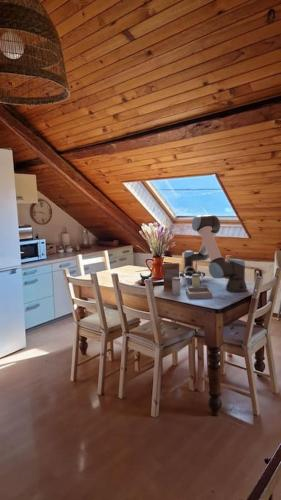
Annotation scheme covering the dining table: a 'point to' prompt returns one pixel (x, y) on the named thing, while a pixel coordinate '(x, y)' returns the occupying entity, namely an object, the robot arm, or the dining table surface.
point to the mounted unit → (170, 274)
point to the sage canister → (195, 280)
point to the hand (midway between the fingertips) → (193, 277)
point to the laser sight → (146, 278)
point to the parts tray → (199, 292)
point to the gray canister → (175, 286)
